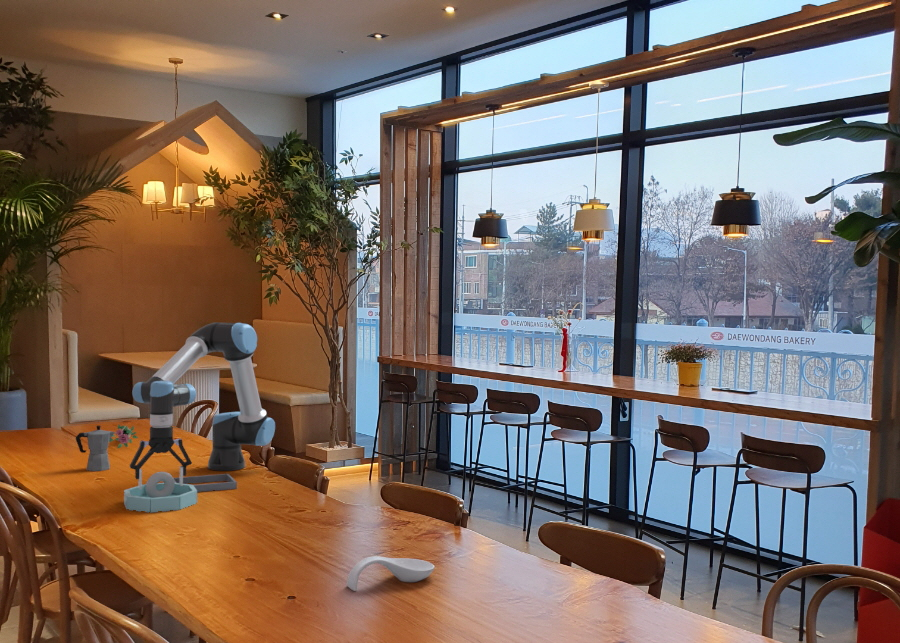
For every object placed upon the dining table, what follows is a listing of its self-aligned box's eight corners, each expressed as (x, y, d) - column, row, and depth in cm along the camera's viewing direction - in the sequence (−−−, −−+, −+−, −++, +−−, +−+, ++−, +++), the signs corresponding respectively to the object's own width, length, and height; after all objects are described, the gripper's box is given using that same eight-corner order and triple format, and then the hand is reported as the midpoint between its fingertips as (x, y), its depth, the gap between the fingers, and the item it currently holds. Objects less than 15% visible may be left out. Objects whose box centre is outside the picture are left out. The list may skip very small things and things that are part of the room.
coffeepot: (111, 465, 349) (111, 422, 348) (118, 469, 342) (118, 425, 341) (72, 469, 339) (72, 425, 339) (78, 473, 332) (79, 428, 331)
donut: (147, 503, 283) (147, 474, 283) (144, 501, 286) (143, 472, 286) (176, 498, 290) (176, 470, 289) (172, 496, 293) (172, 468, 292)
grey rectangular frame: (228, 480, 326) (228, 473, 326) (236, 488, 312) (236, 482, 312) (170, 484, 316) (170, 478, 316) (176, 493, 302) (177, 486, 302)
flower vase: (132, 454, 410) (133, 451, 378) (106, 448, 406) (106, 444, 374) (139, 431, 413) (142, 426, 381) (114, 425, 409) (115, 419, 378)
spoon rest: (419, 568, 225) (419, 542, 225) (442, 581, 216) (443, 554, 215) (340, 583, 213) (340, 555, 212) (361, 598, 203) (361, 569, 202)
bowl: (189, 493, 304) (189, 480, 303) (200, 507, 283) (200, 494, 283) (122, 498, 293) (122, 486, 293) (128, 514, 273) (128, 501, 273)
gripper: (123, 429, 278) (123, 492, 279) (200, 425, 289) (199, 486, 290) (121, 426, 285) (121, 487, 286) (196, 422, 296) (196, 481, 297)
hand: (160, 486), depth 288 cm, fingers open, 13 cm apart
